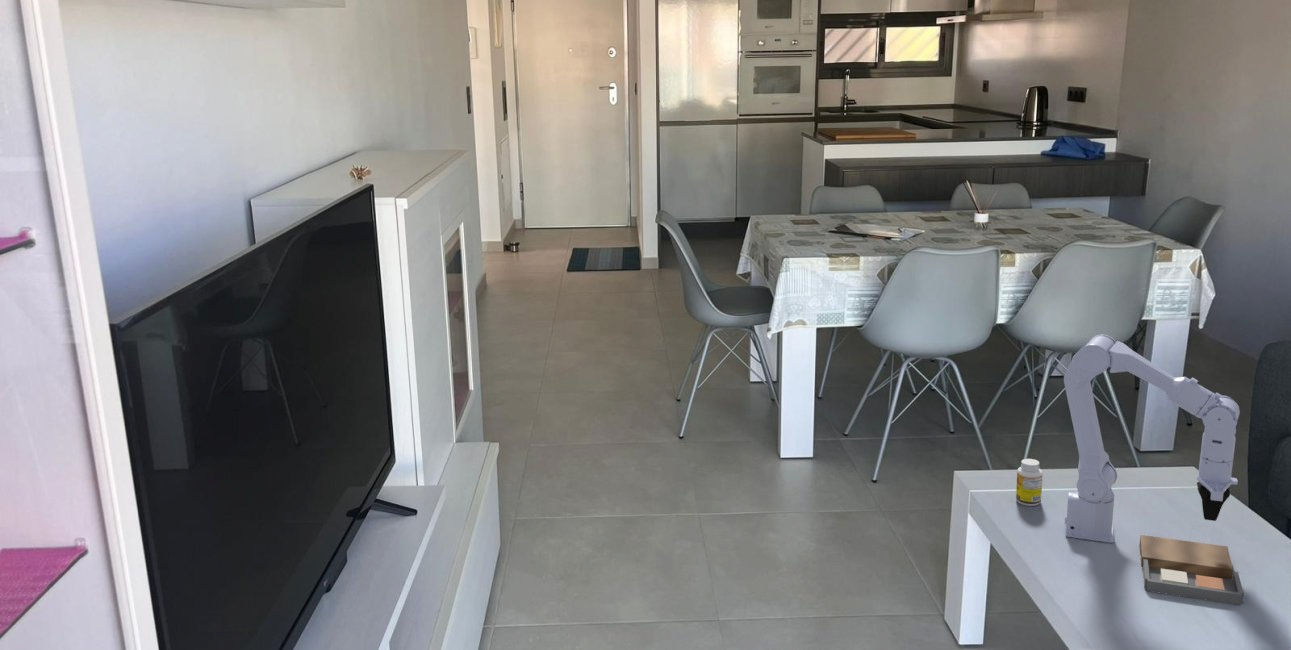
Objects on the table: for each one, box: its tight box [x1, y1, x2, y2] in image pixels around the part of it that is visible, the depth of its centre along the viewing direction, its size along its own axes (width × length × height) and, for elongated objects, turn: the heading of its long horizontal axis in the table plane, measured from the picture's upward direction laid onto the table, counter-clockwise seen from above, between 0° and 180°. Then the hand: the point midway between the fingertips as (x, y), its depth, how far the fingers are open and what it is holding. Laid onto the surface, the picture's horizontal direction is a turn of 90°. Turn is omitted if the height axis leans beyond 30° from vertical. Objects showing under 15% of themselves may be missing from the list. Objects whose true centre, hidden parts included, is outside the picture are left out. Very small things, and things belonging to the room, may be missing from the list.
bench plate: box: [1138, 534, 1234, 580], centre depth 198 cm, size 16×10×2 cm, turn 66°
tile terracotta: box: [1195, 575, 1225, 590], centre depth 188 cm, size 4×4×2 cm
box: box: [1142, 559, 1244, 606], centre depth 190 cm, size 17×9×2 cm, turn 66°
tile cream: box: [1160, 569, 1188, 585], centre depth 190 cm, size 4×4×2 cm
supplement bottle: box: [1015, 458, 1043, 507], centre depth 228 cm, size 6×6×10 cm
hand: (1209, 518), depth 198 cm, fingers closed
